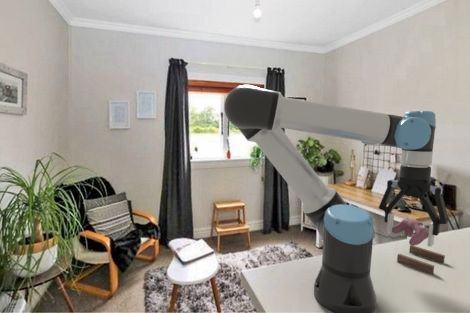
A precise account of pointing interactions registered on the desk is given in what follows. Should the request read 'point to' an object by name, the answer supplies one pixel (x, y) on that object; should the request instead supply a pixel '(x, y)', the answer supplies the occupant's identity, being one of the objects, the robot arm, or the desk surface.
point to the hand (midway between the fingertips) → (409, 238)
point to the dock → (420, 264)
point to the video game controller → (412, 230)
